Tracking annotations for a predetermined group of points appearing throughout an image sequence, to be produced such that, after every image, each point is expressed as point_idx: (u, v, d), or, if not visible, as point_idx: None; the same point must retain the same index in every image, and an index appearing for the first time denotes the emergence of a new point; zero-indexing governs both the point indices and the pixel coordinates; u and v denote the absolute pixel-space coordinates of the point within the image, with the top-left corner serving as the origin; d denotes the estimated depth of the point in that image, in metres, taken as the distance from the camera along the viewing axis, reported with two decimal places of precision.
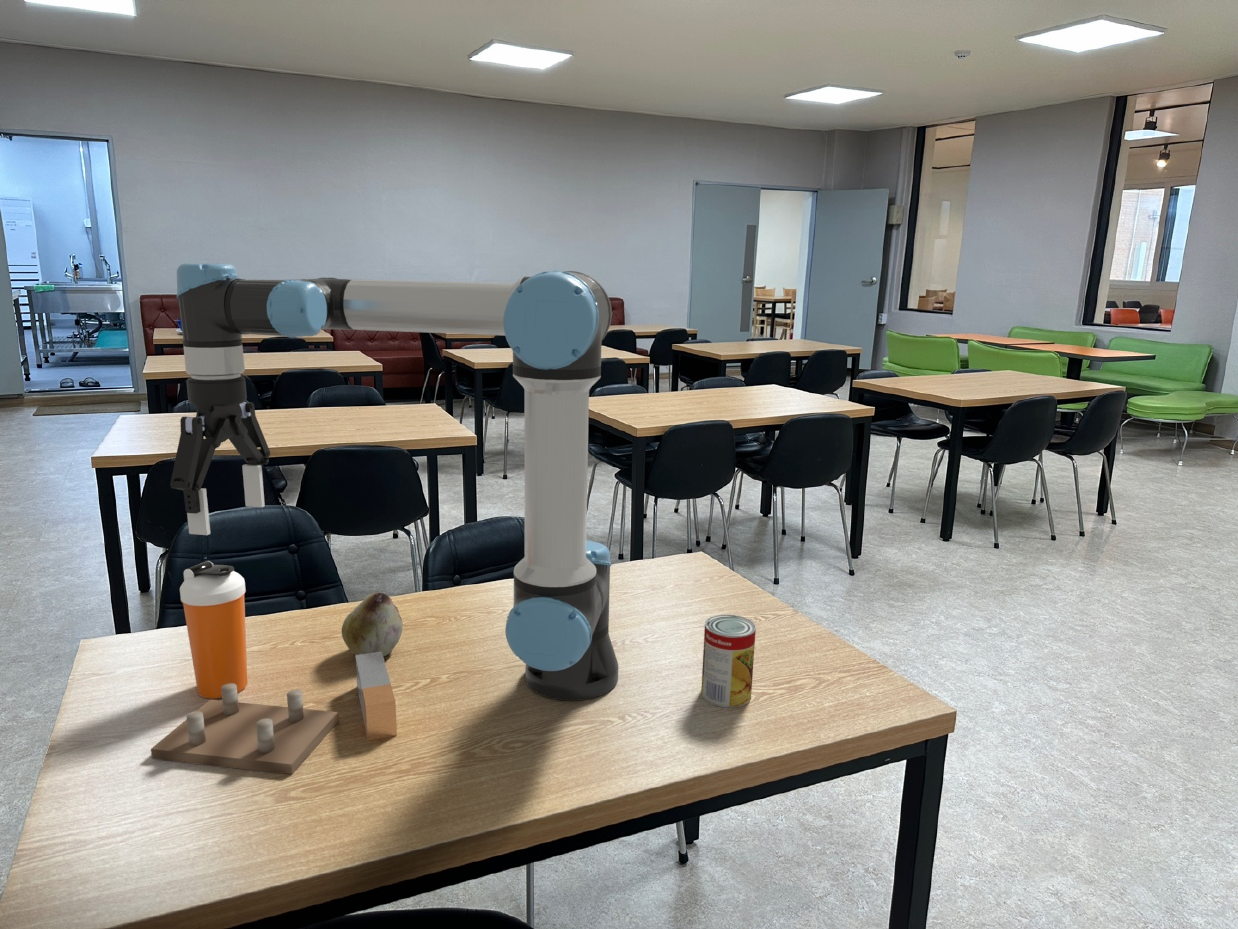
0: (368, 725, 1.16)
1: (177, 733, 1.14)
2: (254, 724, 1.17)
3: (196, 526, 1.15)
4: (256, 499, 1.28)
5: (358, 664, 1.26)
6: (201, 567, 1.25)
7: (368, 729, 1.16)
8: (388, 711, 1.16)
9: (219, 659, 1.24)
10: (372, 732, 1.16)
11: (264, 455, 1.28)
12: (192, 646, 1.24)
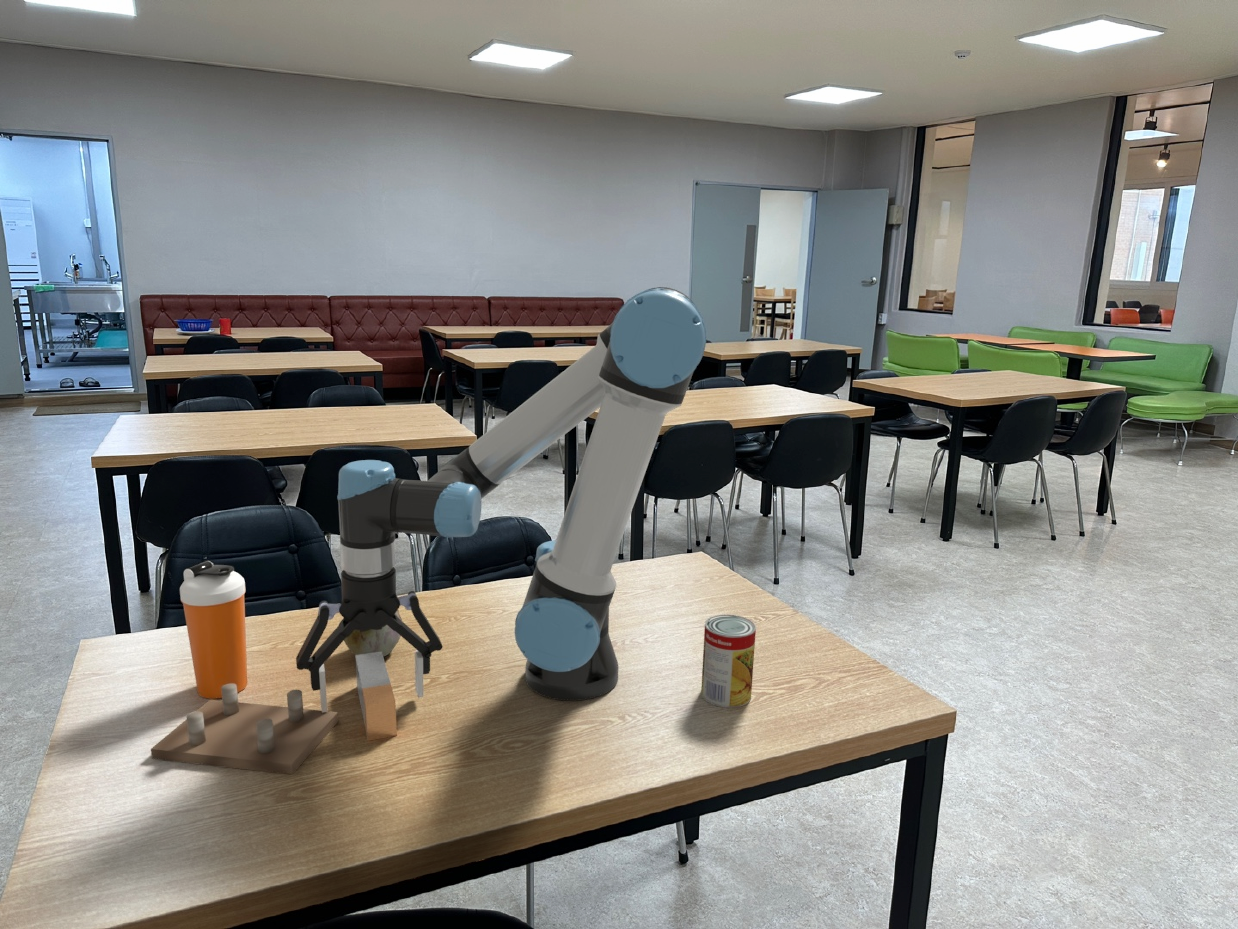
0: (368, 725, 1.16)
1: (177, 733, 1.14)
2: (254, 724, 1.17)
3: None
4: (417, 687, 1.26)
5: (358, 664, 1.26)
6: (201, 567, 1.25)
7: (368, 729, 1.16)
8: (388, 711, 1.16)
9: (219, 659, 1.24)
10: (372, 732, 1.16)
11: (434, 648, 1.25)
12: (192, 646, 1.24)
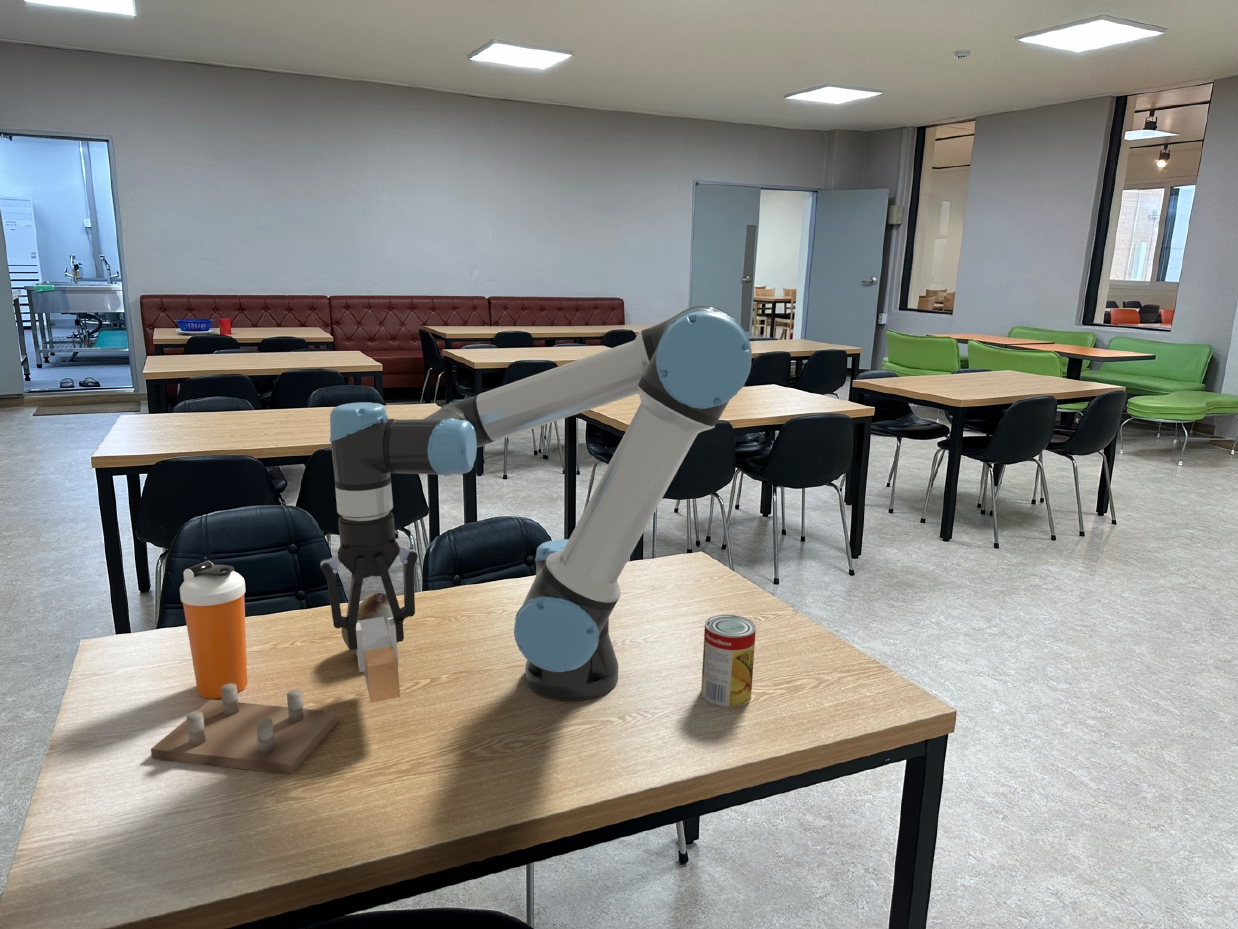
0: (371, 687, 1.14)
1: (177, 733, 1.14)
2: (254, 724, 1.17)
3: (358, 660, 1.21)
4: None
5: None
6: (201, 567, 1.25)
7: (371, 691, 1.15)
8: (390, 672, 1.15)
9: (219, 659, 1.24)
10: (375, 694, 1.15)
11: (406, 612, 1.21)
12: (192, 646, 1.24)
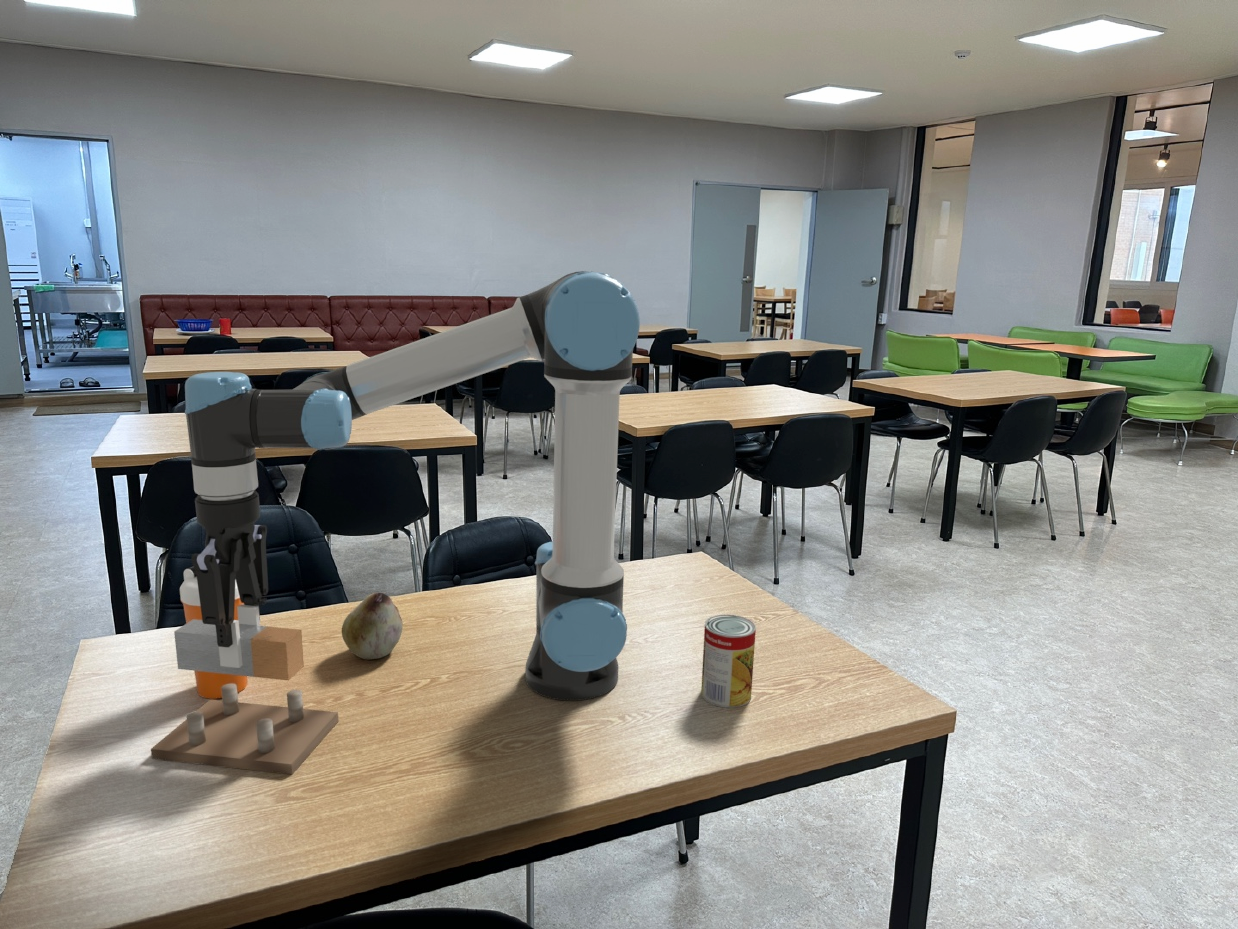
0: (288, 663, 1.10)
1: (177, 733, 1.14)
2: (254, 724, 1.17)
3: (228, 659, 1.10)
4: None
5: (197, 633, 1.11)
6: None
7: (288, 667, 1.10)
8: (298, 642, 1.12)
9: None
10: (290, 669, 1.11)
11: (261, 591, 1.15)
12: None
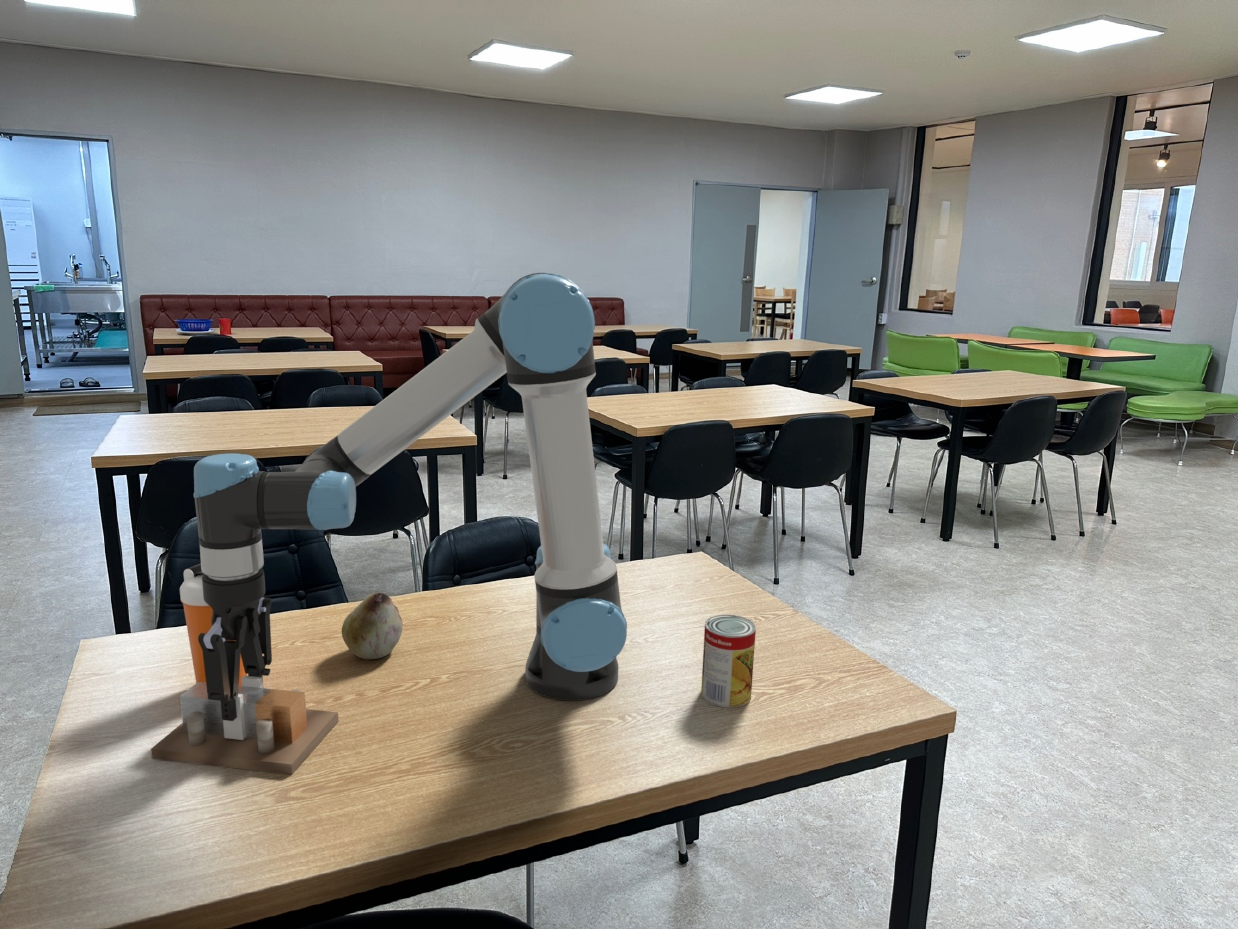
0: (292, 727, 1.12)
1: (177, 733, 1.14)
2: None
3: (232, 731, 1.12)
4: None
5: (202, 697, 1.13)
6: None
7: (292, 731, 1.12)
8: (301, 705, 1.14)
9: None
10: (294, 732, 1.13)
11: (265, 662, 1.18)
12: (192, 646, 1.24)
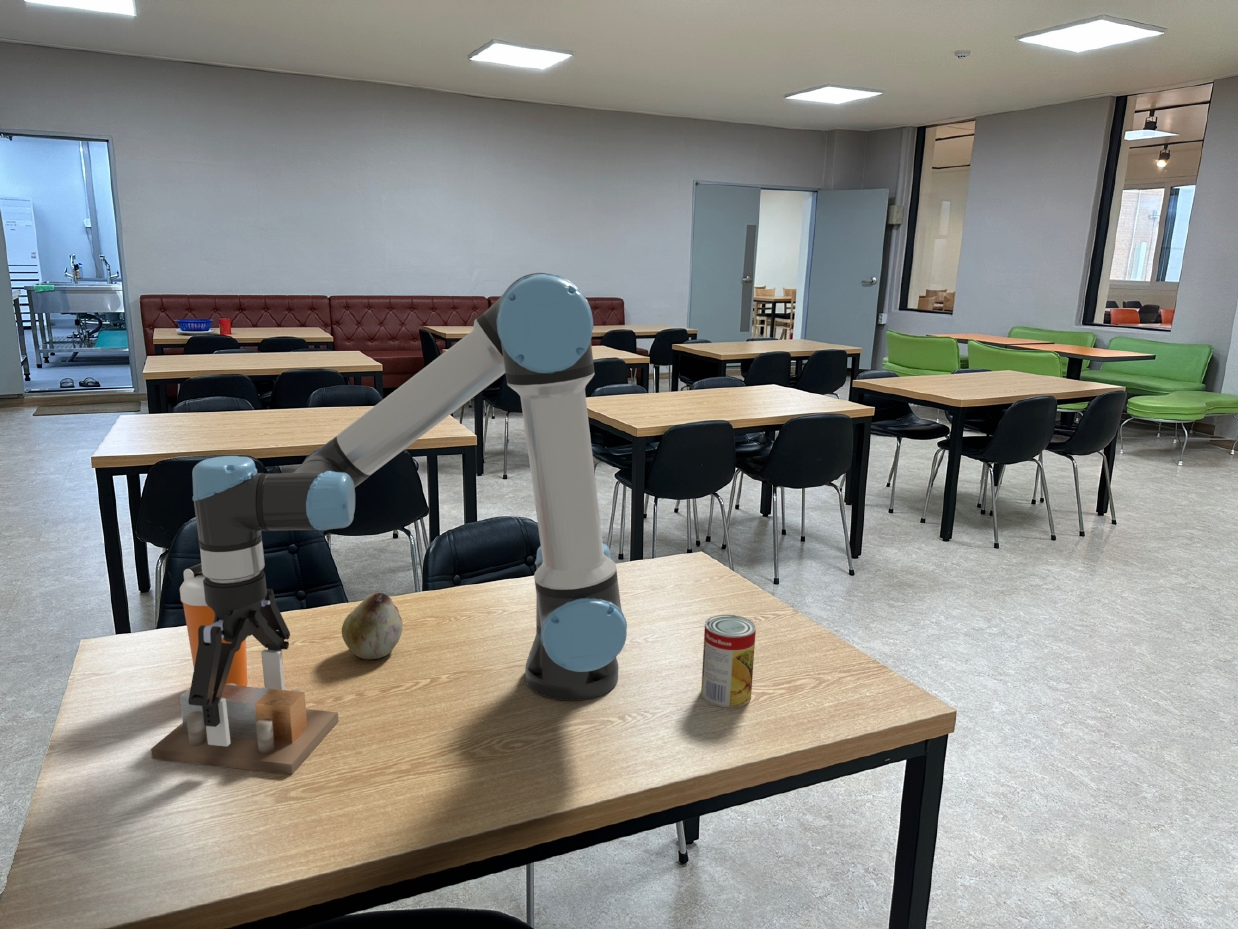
0: (292, 727, 1.12)
1: (177, 733, 1.14)
2: None
3: (215, 737, 1.08)
4: (276, 686, 1.21)
5: None
6: (201, 567, 1.25)
7: (292, 731, 1.12)
8: (301, 705, 1.14)
9: None
10: (294, 732, 1.13)
11: (284, 638, 1.22)
12: (192, 646, 1.24)
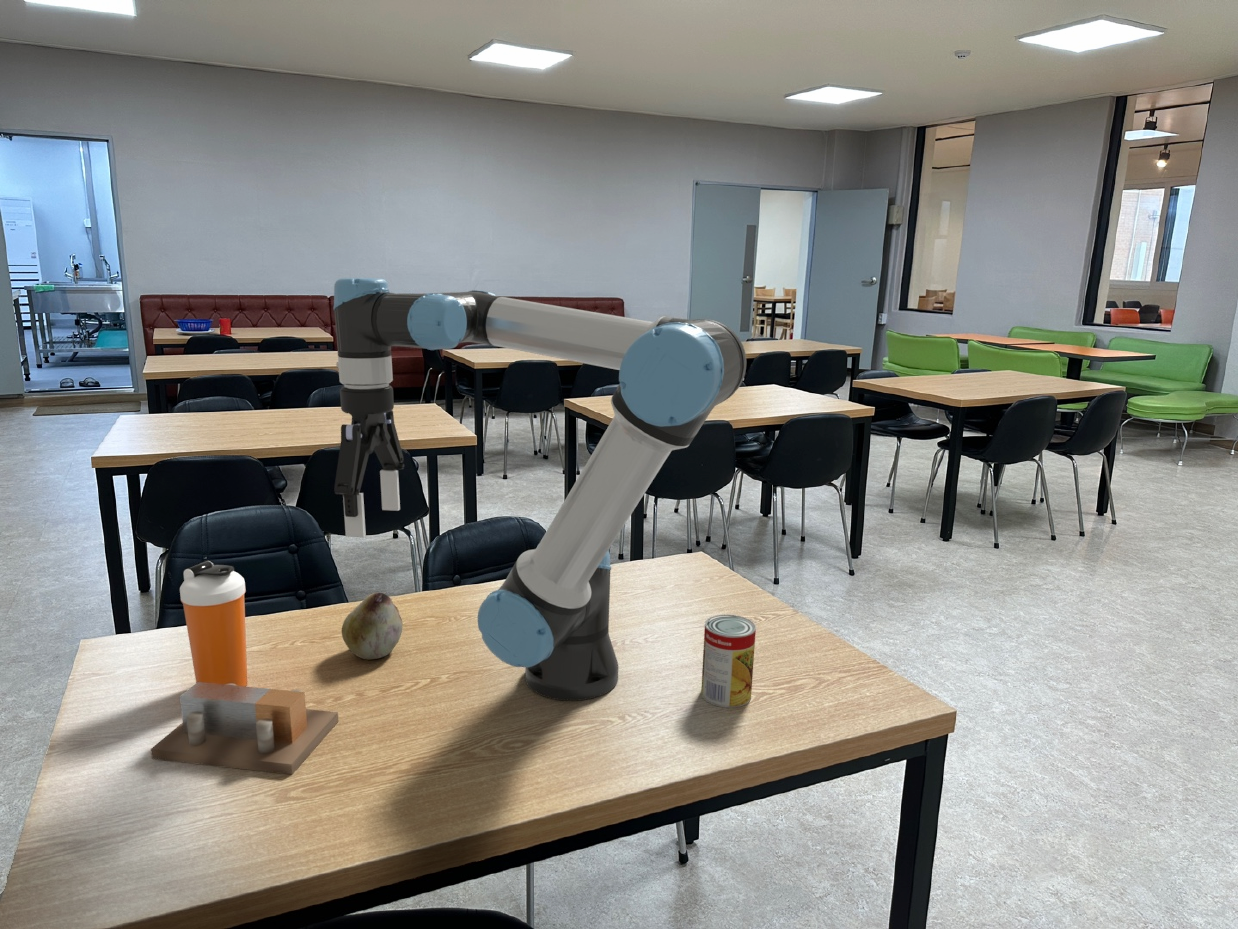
0: (292, 727, 1.12)
1: (177, 733, 1.14)
2: None
3: (353, 529, 1.20)
4: (393, 503, 1.33)
5: (202, 697, 1.13)
6: (201, 567, 1.25)
7: (292, 731, 1.12)
8: (301, 705, 1.14)
9: (219, 659, 1.24)
10: (294, 732, 1.13)
11: (399, 460, 1.34)
12: (192, 646, 1.24)
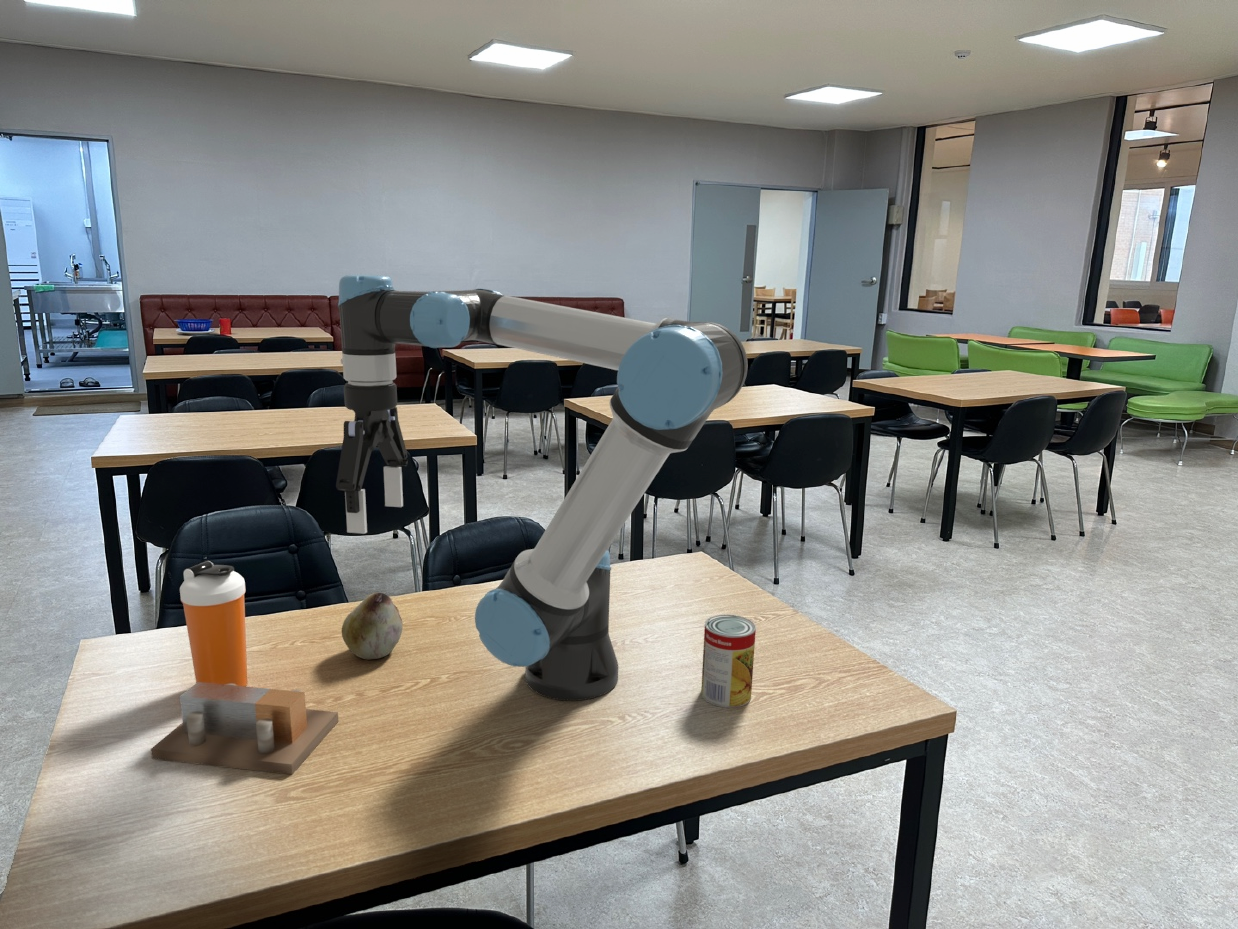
0: (292, 727, 1.12)
1: (177, 733, 1.14)
2: None
3: (354, 525, 1.21)
4: (396, 499, 1.34)
5: (202, 697, 1.13)
6: (201, 567, 1.25)
7: (292, 731, 1.12)
8: (301, 705, 1.14)
9: (219, 659, 1.24)
10: (294, 732, 1.13)
11: (402, 457, 1.34)
12: (192, 646, 1.24)
